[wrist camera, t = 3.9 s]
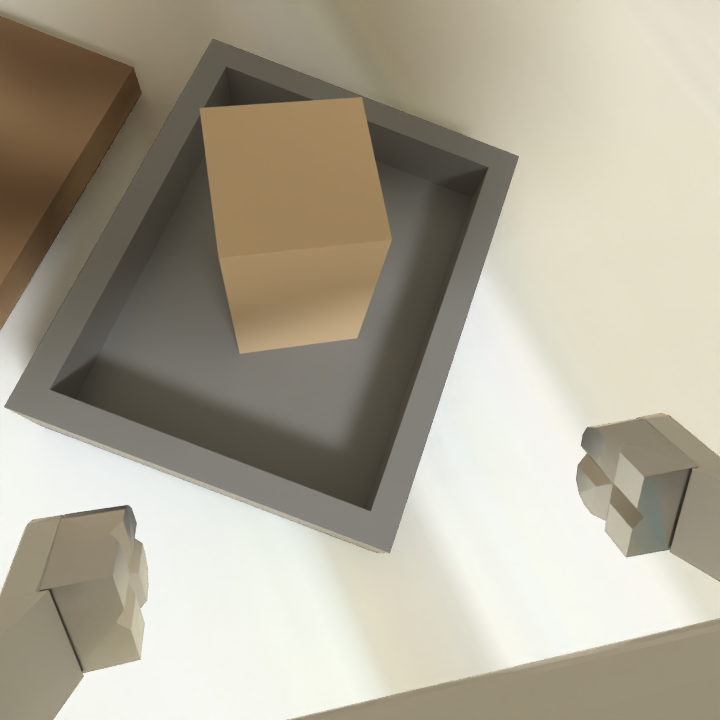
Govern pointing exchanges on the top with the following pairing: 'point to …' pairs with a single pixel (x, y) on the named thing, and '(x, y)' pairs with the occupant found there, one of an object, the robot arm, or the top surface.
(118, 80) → the walnut pad
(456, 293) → the tray
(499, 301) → the top surface
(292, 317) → the carton
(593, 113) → the top surface
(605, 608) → the top surface
